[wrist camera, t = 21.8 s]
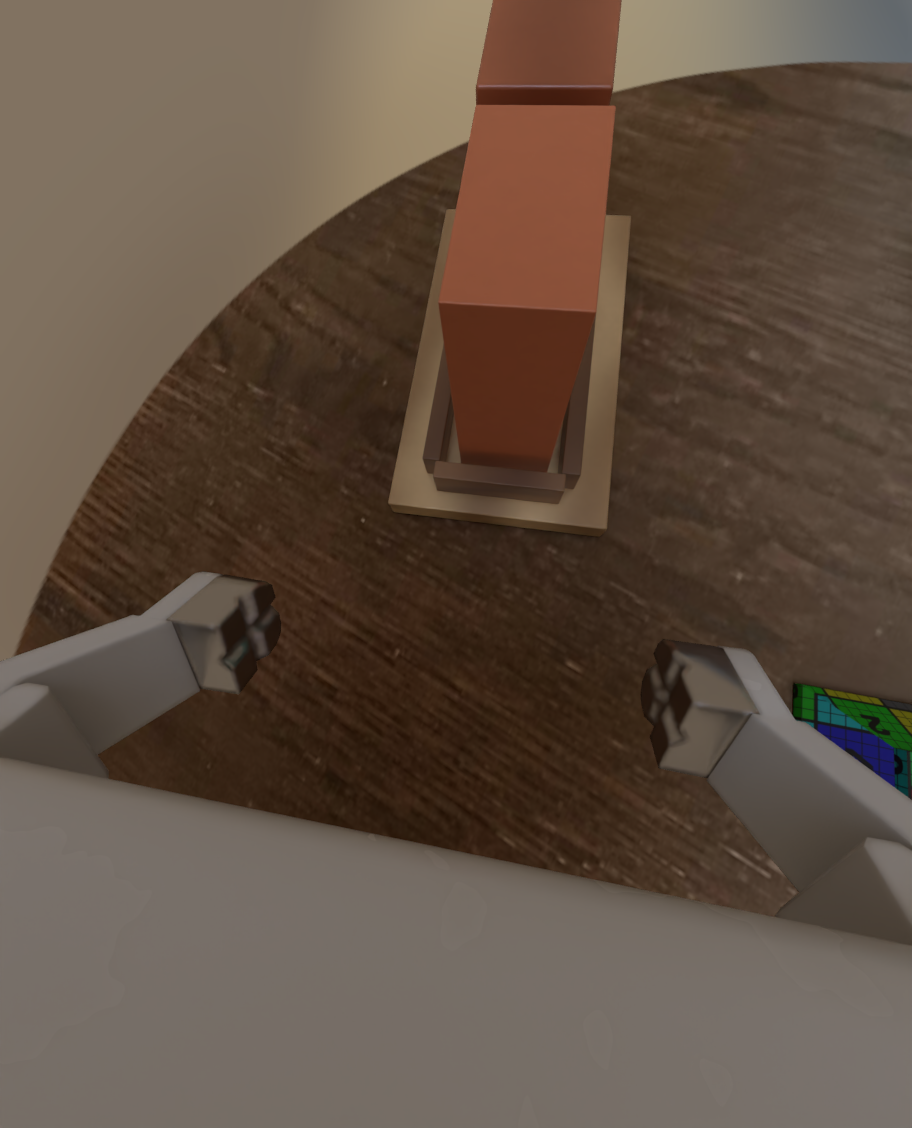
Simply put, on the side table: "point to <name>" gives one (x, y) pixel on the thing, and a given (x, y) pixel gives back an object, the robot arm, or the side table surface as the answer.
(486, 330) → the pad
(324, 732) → the side table surface
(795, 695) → the numbered block arch
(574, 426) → the pad base
